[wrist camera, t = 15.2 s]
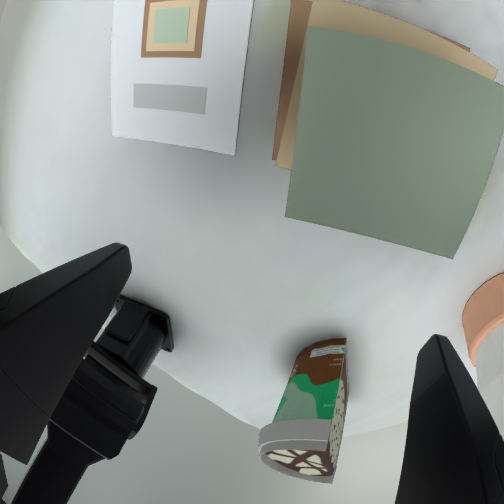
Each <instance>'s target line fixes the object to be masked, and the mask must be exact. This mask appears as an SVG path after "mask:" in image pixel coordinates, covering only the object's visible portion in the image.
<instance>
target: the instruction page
mask: <svg viewBox="0 0 504 504" xmlns="http://www.w3.org/2000/svg"><path fill="white" fill-rule="evenodd" d="M253 3H254V0H114V11H113V24H112V41H111V120H112V136H116V137H124V138H132V139H140V140H147V141H154V142H160V143H167V144H173V145H179V146H185V147H191V148H197V149H202V150H208V151H213V152H218V153H223V154H228V155H233V156H235V151H236V141H237V132H238V123H239V114H240V105H241V96H242V88H243V79H244V71H245V63H246V55H247V47H248V40H249V32H250V25H251V17H252V10H253Z"/></svg>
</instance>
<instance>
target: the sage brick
mask: <svg viewBox="0 0 504 504" xmlns="http://www.w3.org/2000/svg"><path fill="white" fill-rule="evenodd" d="M503 129H504V86H502V85H500V84H499V83H497V82H495V81H493V80H491V79H489V78H486V77H484V76H482V75H480V74H478V73H476V72H474V71H471V70H469V69H467V68H465V67H462V66H460V65H457V64H455V63H452V62H450V61H447V60H445V59H442V58H439V57H437V56H434V55H431V54H428V53H425V52H422V51H419V50H416V49H413V48H410V47H407V46H403V45H400V44H396V43H393V42H389V41H385V40H382V39H378V38H373V37H369V36H365V35H360V34H355V33H350V32H345V31H340V30H334V29H328V28H321V27H314V26H308V32H307V42H306V52H305V61H304V70H303V80H302V88H301V97H300V106H299V114H298V122H297V130H296V138H295V146H294V154H293V162H292V169H291V177H290V184H289V191H288V198H287V205H286V212H285V217H288V218H293V219H297V220H302V221H306V222H310V223H315V224H319V225H323V226H327V227H332V228H336V229H340V230H344V231H348V232H352V233H356V234H360V235H364V236H368V237H372V238H376V239H380V240H384V241H388V242H392V243H395V244H399V245H403V246H407V247H410V248H414V249H418V250H421V251H425V252H429V253H432V254H436V255H439V256H443V257H446V258H450V259H453V257H454V255H455V253H456V251H457V249H458V247H459V245H460V243H461V241H462V239H463V237H464V235H465V233H466V231H467V228H468V226H469V224H470V222H471V219H472V217H473V215H474V213H475V210H476V208H477V205H478V203H479V200H480V198H481V195H482V193H483V190H484V188H485V185H486V182H487V180H488V177H489V174H490V171H491V168H492V165H493V162H494V159H495V156H496V153H497V150H498V147H499V143H500V140H501V136H502V133H503Z"/></svg>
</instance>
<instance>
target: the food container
mask: <svg viewBox="0 0 504 504" xmlns="http://www.w3.org/2000/svg"><path fill="white" fill-rule="evenodd" d="M348 395H349V383H348V359H347V341H346V338H340V339H330V340H325V341H321V342H316V343H314V344H312V345H310V346H308V347H306V348H304V349H303V351H302V352H301V353H300V354H299V355H298V356H297V359H296V361H295V364H294V367H293V370H292V373H291V375H290V378H289V381H288V383H287V386H286V389H285V391H284V394H283V397H282V399H281V402H280V404H279V407H278V409H277V412H276V414H275V417H274V419H273V422H272V423H271V424H269V425H266V426H264V427H263V428H262V429H261V431H260V434H259V445H258V452H259V453H260V456H259V458H260V460H261V462H263V464H265V465H266V466H268V467H269V468H271V469H273V470H275V471H278V472H280V473H283V474H286V475H289V476H292V477H296V478H300V479H304V480H309V481H314V482H322V483H330V484H332V482H333V478H334V475H335V471H336V467H337V466H336V465H337V460H338V454H339V450H340V444H341V439H342V433H343V427H344V421H345V415H346V409H347V402H348Z"/></svg>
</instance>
